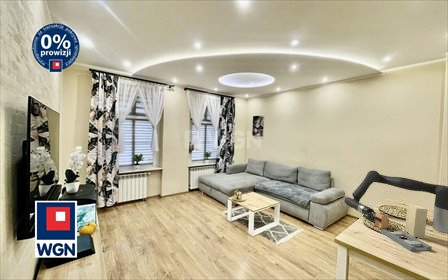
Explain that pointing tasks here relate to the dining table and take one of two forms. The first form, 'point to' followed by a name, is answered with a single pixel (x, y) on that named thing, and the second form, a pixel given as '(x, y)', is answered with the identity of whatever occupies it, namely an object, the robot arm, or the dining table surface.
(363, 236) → the dining table surface
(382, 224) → the orange block with knob
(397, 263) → the dining table surface
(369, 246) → the dining table surface
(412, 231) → the pale yellow tall block
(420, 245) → the frame
